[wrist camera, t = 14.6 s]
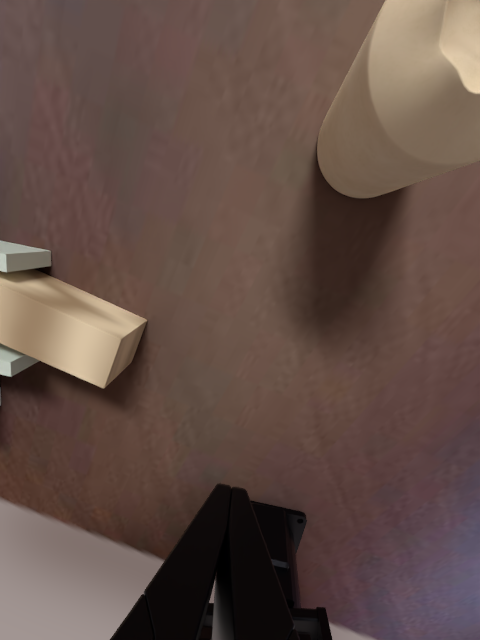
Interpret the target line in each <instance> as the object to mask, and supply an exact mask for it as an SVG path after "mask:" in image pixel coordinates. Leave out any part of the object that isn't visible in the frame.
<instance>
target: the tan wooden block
mask: <svg viewBox="0 0 480 640" xmlns="http://www.w3.org/2000/svg"><path fill="white" fill-rule="evenodd" d="M146 323H147V320H146V319H144V318H142V317H139V316H137V315H135V314H133V313H131V312H128V311H126V310H124V309H122V308H120V307H117V306H115V305H113V304H111V303H109V302H106V301H104V300H102V299H100V298H98V297H95V296H93V295H91V294H89V293H86V292H84V291H82V290H80V289H78V288H75V287H73V286H71V285H69V284H67V283H64V282H62V281H60V280H58V279H56V278H53V277H51V276H49V275H47V274H45V273H42V272H40V271H38V270H36V269H27V270H20V271H13V272H3V271H0V343H1V344H3V345H5V346H8V347H10V348H12V349H14V350H17V351H19V352H21V353H24V354H26V355H28V356H30V357H33V358H35V359H37V360H40V361H42V362H44V363H46V364H49V365H51V366H53V367H55V368H58V369H60V370H62V371H65V372H67V373H69V374H71V375H74V376H76V377H78V378H80V379H83V380H85V381H87V382H90V383H92V384H94V385H96V386H99V387H101V388H103V389H104V388H105V387H106V386H107V385H108V384H109V383H110V382H112V381H113V380H114V379H115V378H116V377H117V376H118V375H119V374H120V373H121V372H122V371H123V370H124V369H125V368H126V367H127V366H128V365H129V364H130V363H131V362H132V360H133V357H134V355H135V352H136V349H137V347H138V344H139V341H140V339H141V336H142V333H143V331H144V328H145V325H146Z"/></svg>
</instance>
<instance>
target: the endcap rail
mask: <svg viewBox="0 0 480 640" xmlns="http://www.w3.org/2000/svg"><path fill="white" fill-rule="evenodd" d="M48 266H51V251H49V250H44V249H39V248H34V247H29V246H24V245H19V244H15V243H10V242H5V241H0V271H3V272H13V271H20V270H27V269H34V268H41V267H48ZM39 361H40V360H37V359H35V358H33V357H30V356H28V355H26V354H24V353H21V352H19V351H17V350H14V349H12V348H10V347H8V346H5V345H3V344H1V343H0V375H5V376H9V377H12V376H14V375H15V374H17V373H19V372H21V371H22V370H24V369H26V368H28V367H30V366H31V365H33V364H35V363H37V362H39ZM0 406H1V389H0Z"/></svg>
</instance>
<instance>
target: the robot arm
mask: <svg viewBox="0 0 480 640" xmlns="http://www.w3.org/2000/svg"><path fill="white" fill-rule="evenodd" d="M306 522H307V520H306V515H305V514H304V513H303V512H300V511H295V510H291V509H286V508H282V507H277V506H273V505H268V504H263V503H259V502H254V501H250V499H249V496H248V493H247V491H246V490H245V489H244V488H239V487H232V489H231V486H230V485H225V484H221V483H219V484H217V485H216V486H215V488H214V489H213V491H212V492H211V494H210V495H209V497H208V498H207V500H206V501H205V503H204V504H203V506H202V507H201V509H200V510H199V511H198V513H197V514H196V516H195V517H194V519H193V520H192V522H191V523H190V525H189V526H188V528H187V529H186V531H185V532H184V534H183V535H182V536H181V538H180V539H179V541H178V542H177V544H176V545H175V547H174V548H173V550H172V551H171V553H170V554H169V556H168V557H167V559H166V560H165V561H164V563H163V564H162V566H161V568H160V569H159V570H158V572H157V573H156V575H155V576H154V578H153V579H152V581H151V582H150V583H149V585H148V586H147V588H146V589H145V591H144V594H142V595H141V597H140V598H139V599H138V601H137V602H136V604H135V605H134V607H133V608H132V610H131V611H130V613H129V614H128V615H127V617H126V618H125V620H124V621H123V622H122V624H121V625H120V627H119V628H118V629H117V631H116V632H115V633H114V635H113V636H112V638H111V639H110V640H332V636H331V632H330V627H329V622H328V618H327V613H326V609H325V608H324V607H316V609H307V608H301V604H300V594H299V584H298V574H297V564H296V552H297V549H298V546H299V543H300V540H301V537H302V534H303V531H304V528H305V525H306ZM216 572H217V573H216ZM215 576H216V582H215V596H214V603H209V600H210V596H211V593H212V589H213V585H214V580H215Z"/></svg>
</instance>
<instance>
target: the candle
mask: <svg viewBox="0 0 480 640" xmlns="http://www.w3.org/2000/svg"><path fill="white" fill-rule="evenodd" d="M317 157H318V163H319V167H320V169H321V172H322V174H323V176H324V178H325V179H326V181H327V182H328V183H329V184H330V185H331V187H333V188H334V189H335V190H336V191H338V192H340V193H341V194H344V195H346V196H349V197H353V198H372V197H376V196H380V195H383V194H386V193H389V192H392V191H395V190H398V189H401V188H403V187H406V186H409V185H412V184H415V183H418V182H421V181H424V180H426V179H429V178H432V177H435V176H438V175H441V174H444V173H447V172H449V171H452V170H455V169H458V168H461V167H464V166H467V165H470V164H472V163H475V162H478V161H480V0H386V1H385V2H384V4H383V6H382V8H381V10H380V12H379V14H378V16H377V18H376V19H375V21H374V23H373V25H372V27H371V29H370V31H369V33H368V35H367V37H366V39H365V41H364V43H363V45H362V47H361V49H360V50H359V52H358V54H357V56H356V58H355V60H354V62H353V64H352V66H351V68H350V70H349V72H348V74H347V76H346V78H345V80H344V82H343V83H342V85H341V87H340V89H339V91H338V93H337V95H336V97H335V99H334V101H333V103H332V105H331V107H330V109H329V111H328V113H327V115H326V117H325V119H324V121H323V124H322V126H321V129H320V132H319V136H318V143H317Z"/></svg>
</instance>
